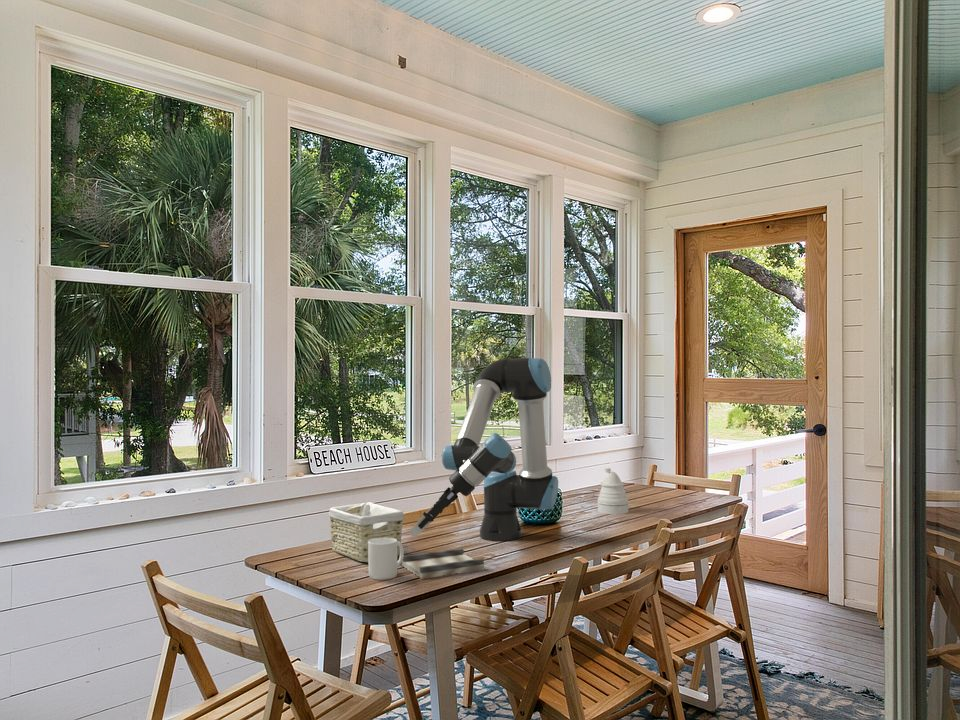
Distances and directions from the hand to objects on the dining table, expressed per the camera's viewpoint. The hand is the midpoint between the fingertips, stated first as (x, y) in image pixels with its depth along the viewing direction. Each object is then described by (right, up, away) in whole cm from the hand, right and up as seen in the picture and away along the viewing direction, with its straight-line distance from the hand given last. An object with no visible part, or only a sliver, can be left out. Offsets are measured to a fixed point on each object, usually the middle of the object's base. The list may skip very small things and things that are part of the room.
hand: (416, 529), depth 202 cm
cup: (-8, -13, +1) cm, 16 cm away
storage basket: (-19, -14, +26) cm, 35 cm away
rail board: (+7, -13, +7) cm, 17 cm away
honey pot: (+75, -15, +93) cm, 120 cm away
